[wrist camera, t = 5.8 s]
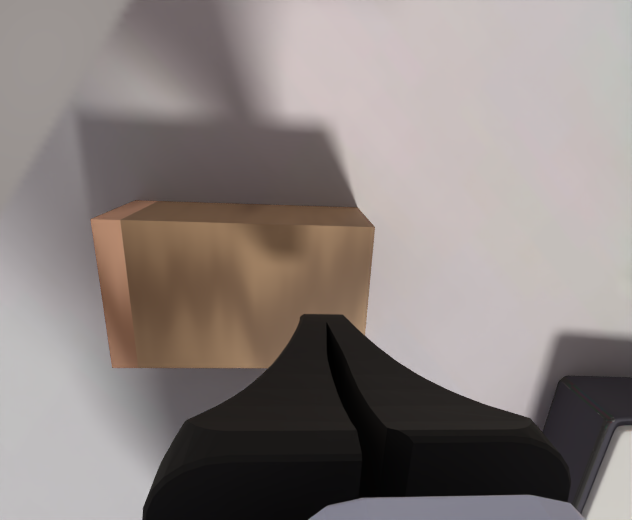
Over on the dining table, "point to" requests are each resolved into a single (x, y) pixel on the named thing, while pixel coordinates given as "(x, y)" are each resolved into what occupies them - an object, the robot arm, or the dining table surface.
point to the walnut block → (225, 279)
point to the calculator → (595, 443)
